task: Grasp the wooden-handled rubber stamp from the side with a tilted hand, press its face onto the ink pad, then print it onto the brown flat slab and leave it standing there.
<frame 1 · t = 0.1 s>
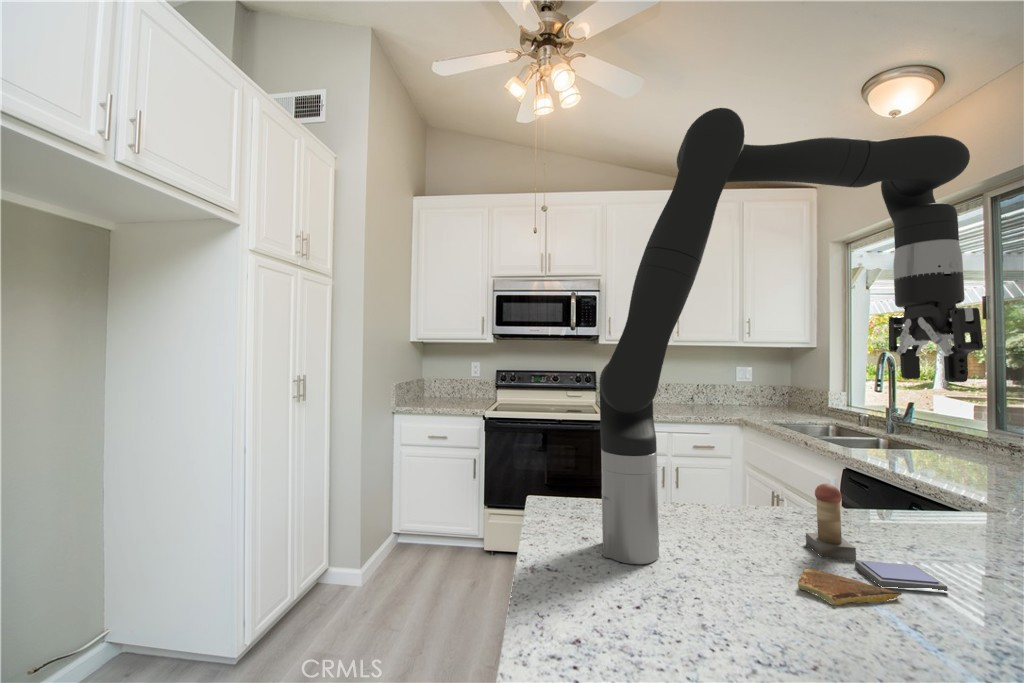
hand: (932, 380, 63), 29 cm above the countertop, tool pointing down, fingers open, 8 cm apart
brown flat slab: (837, 592, 59), on the countertop
stamp: (830, 551, 70), on the countertop
ink pad: (898, 579, 61), on the countertop
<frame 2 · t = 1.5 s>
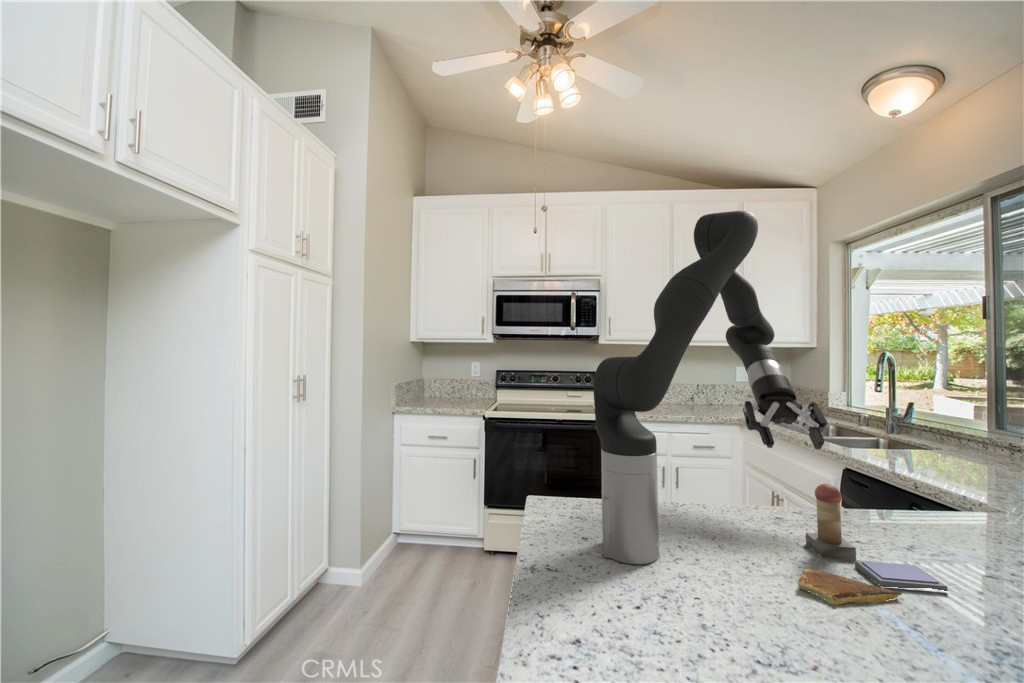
hand: (795, 446, 82), 15 cm above the countertop, tool tilted 45°, fingers open, 8 cm apart
nothing on the countertop moved.
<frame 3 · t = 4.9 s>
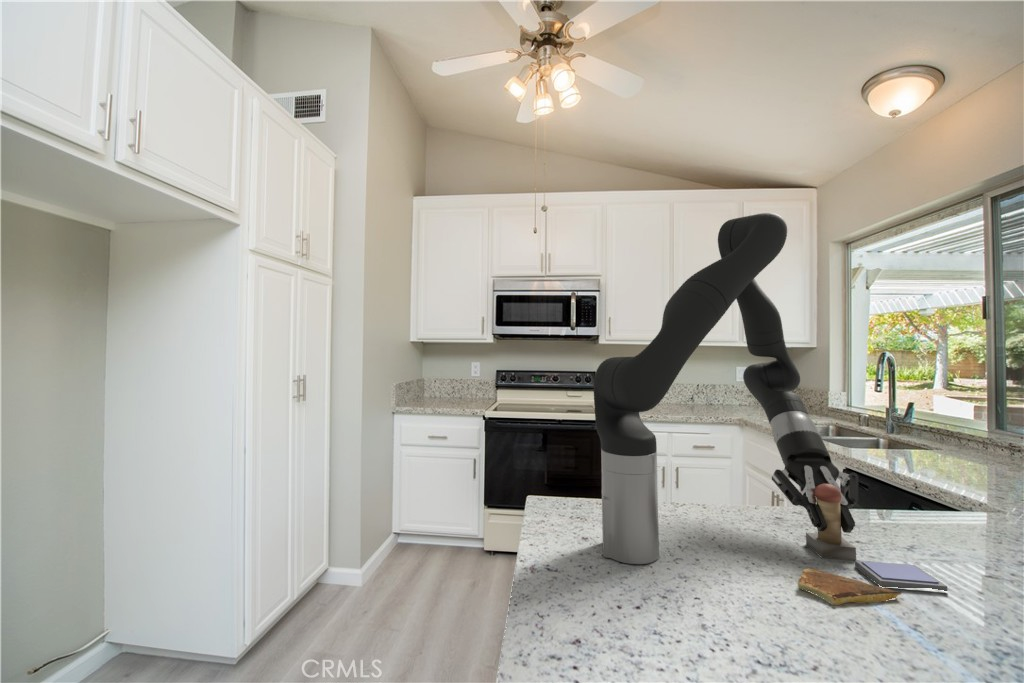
hand: (836, 529, 68), 5 cm above the countertop, tool tilted 45°, fingers closed on stamp, 3 cm apart
stamp: (830, 551, 70), on the countertop, touching gripper
everything else where it was.
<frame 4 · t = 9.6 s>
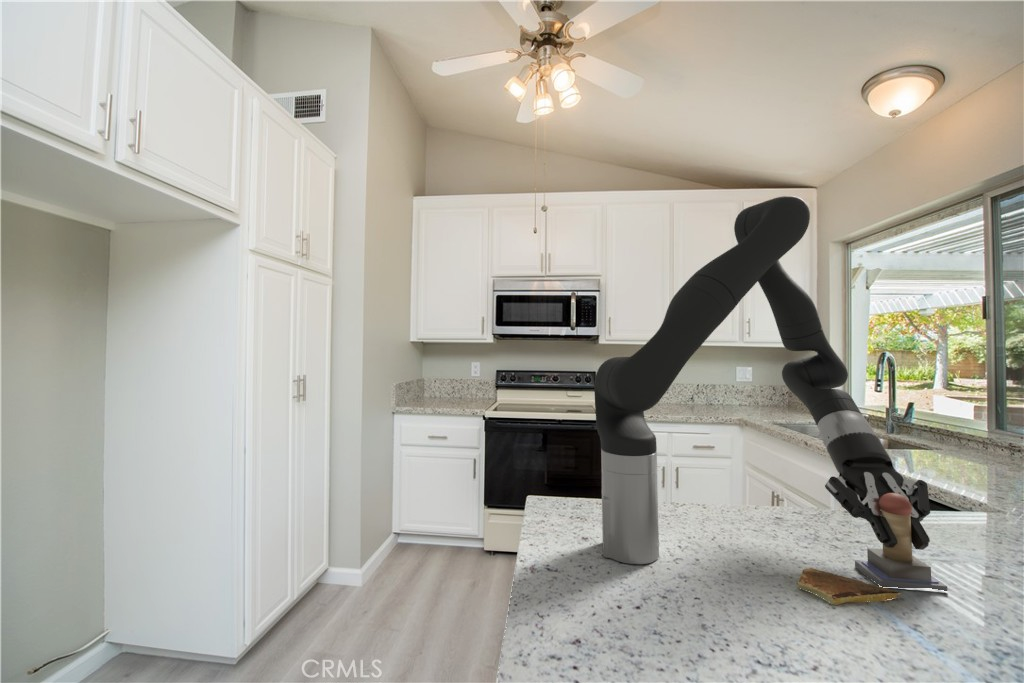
hand: (907, 545, 59), 6 cm above the countertop, tool tilted 45°, fingers closed on stamp, 3 cm apart
stamp: (898, 570, 61), point 1 cm above the countertop, touching gripper, ink pad
everything else where it was.
when the fingers open (6 cm above the countertop, at t = 14.2 s): stamp stays where it is, resting on brown flat slab.
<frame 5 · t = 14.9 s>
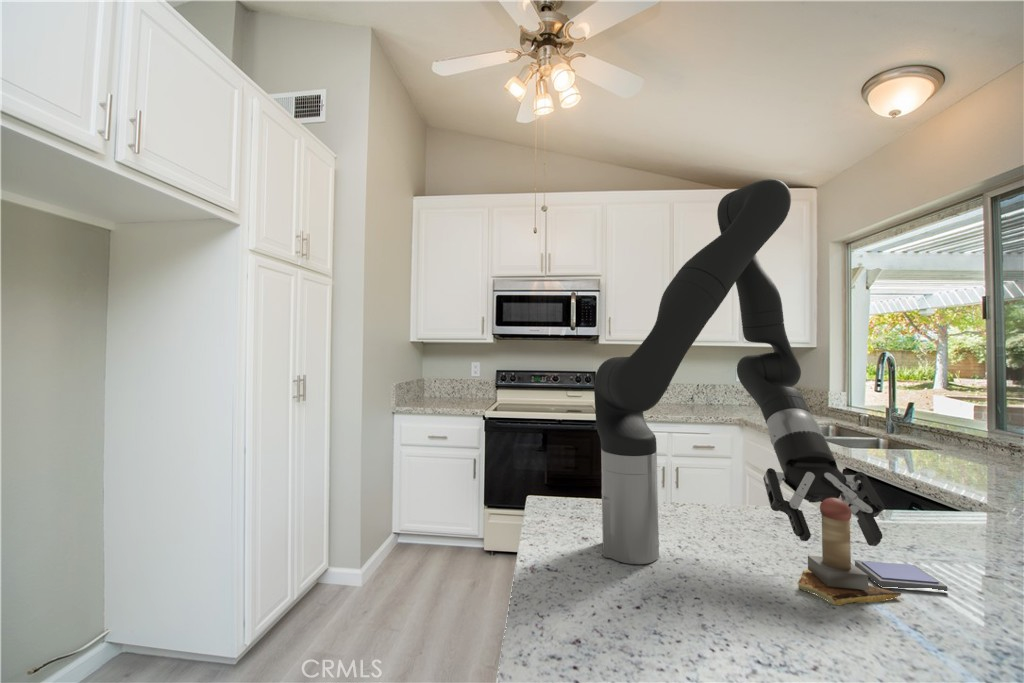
hand: (840, 541, 58), 7 cm above the countertop, tool tilted 45°, fingers open, 8 cm apart
brown flat slab: (836, 593, 59), on the countertop, touching stamp
stamp: (836, 579, 59), point 1 cm above the countertop, touching brown flat slab
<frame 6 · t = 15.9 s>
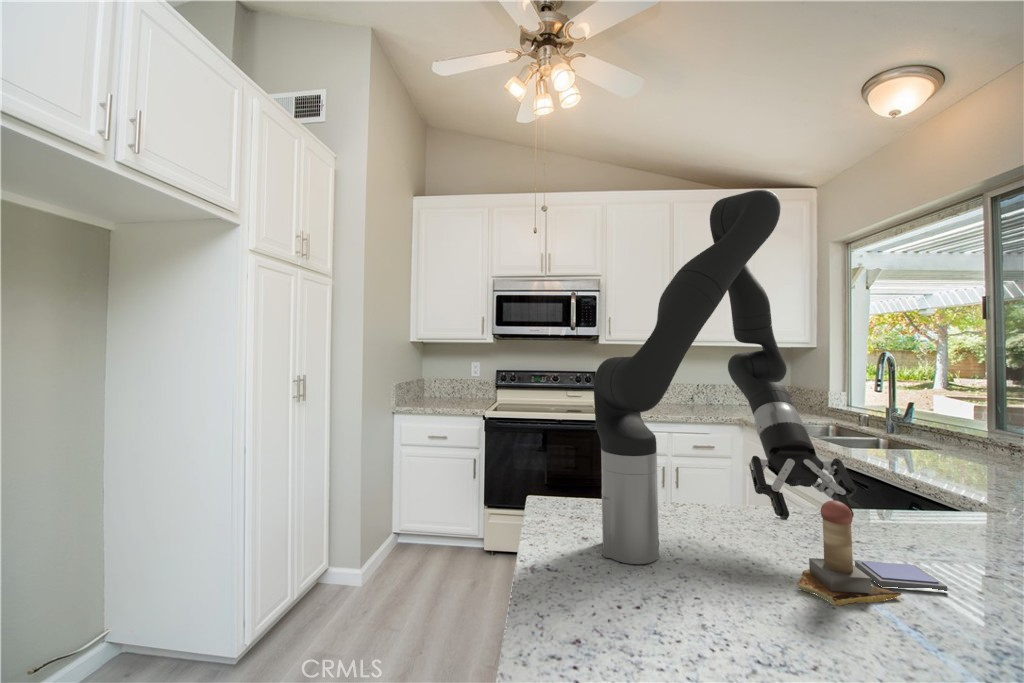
hand: (816, 519, 65), 7 cm above the countertop, tool tilted 45°, fingers open, 8 cm apart
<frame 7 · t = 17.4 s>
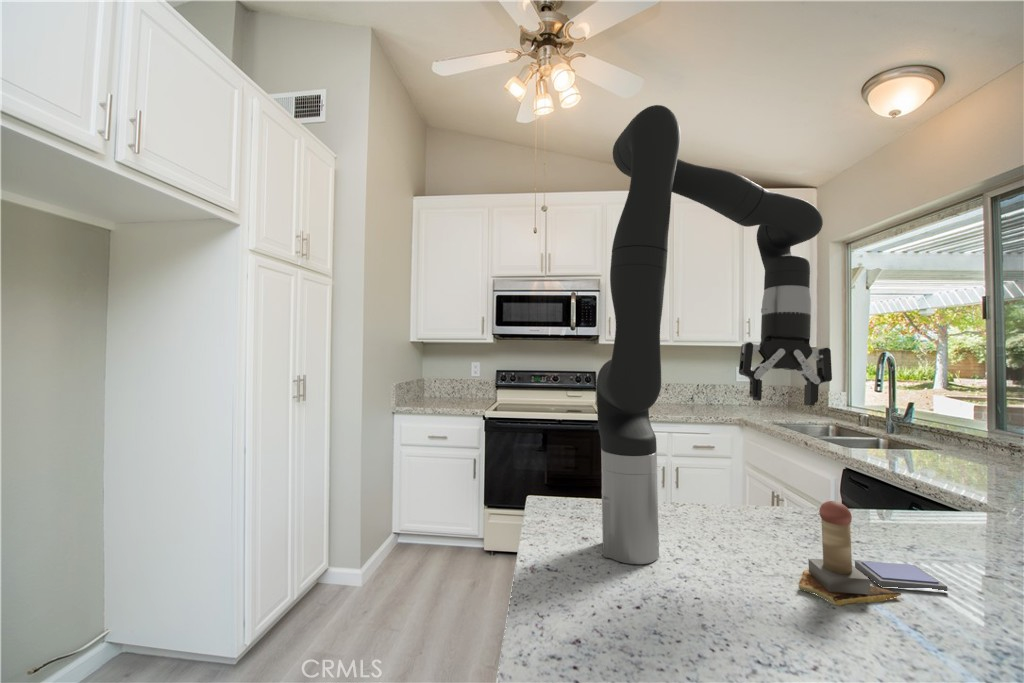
hand: (782, 403, 74), 25 cm above the countertop, tool pointing down, fingers open, 8 cm apart
brown flat slab: (837, 593, 59), on the countertop
stamp: (838, 582, 58), point 1 cm above the countertop
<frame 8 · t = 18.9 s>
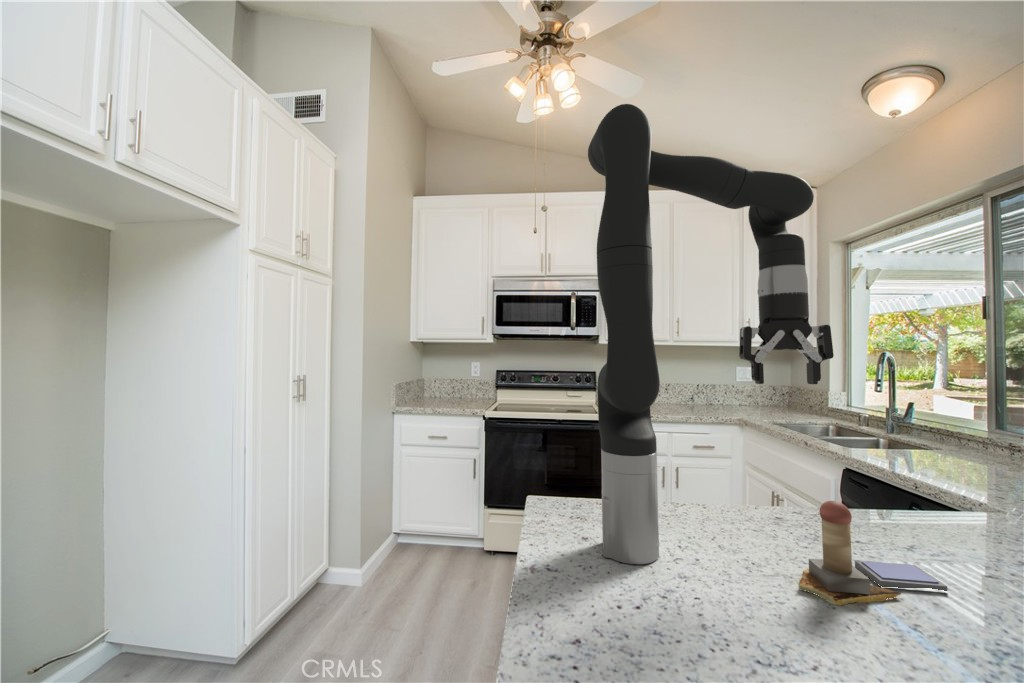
hand: (785, 383, 74), 28 cm above the countertop, tool pointing down, fingers open, 8 cm apart
brown flat slab: (837, 593, 59), on the countertop, touching stamp
stamp: (838, 582, 58), point 1 cm above the countertop, touching brown flat slab
at the end: stamp inside the target area on the brown flat slab (1.1 cm from its centre), point 2.1 cm above the brown flat slab's base; stamp tilted 1°; the gripper is holding nothing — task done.
